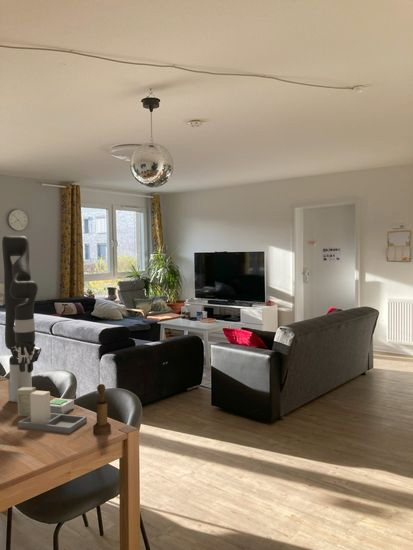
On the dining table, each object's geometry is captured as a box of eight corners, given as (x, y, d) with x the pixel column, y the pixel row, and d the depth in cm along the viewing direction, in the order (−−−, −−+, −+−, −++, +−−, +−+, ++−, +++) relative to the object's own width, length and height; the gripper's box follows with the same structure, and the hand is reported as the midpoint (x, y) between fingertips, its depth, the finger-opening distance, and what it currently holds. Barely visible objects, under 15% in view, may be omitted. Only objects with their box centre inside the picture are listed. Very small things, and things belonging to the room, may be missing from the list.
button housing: (42, 416, 188) (42, 404, 187) (55, 409, 196) (55, 398, 196) (61, 418, 185) (61, 406, 185) (74, 411, 194) (73, 399, 194)
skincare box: (37, 416, 189) (36, 386, 188) (32, 419, 184) (31, 390, 184) (22, 415, 189) (21, 386, 189) (17, 419, 185) (16, 389, 184)
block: (31, 424, 176) (30, 393, 175) (37, 420, 180) (36, 390, 179) (44, 425, 174) (43, 394, 173) (50, 421, 178) (49, 391, 177)
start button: (49, 410, 189) (49, 403, 189) (57, 406, 194) (56, 399, 194) (60, 411, 188) (60, 404, 187) (67, 407, 192) (67, 400, 192)
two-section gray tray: (18, 431, 173) (17, 422, 173) (38, 419, 184) (37, 411, 184) (69, 437, 166) (69, 428, 166) (87, 425, 178) (86, 416, 178)
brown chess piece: (114, 431, 172) (113, 384, 171) (99, 436, 167) (98, 388, 166) (104, 426, 176) (103, 381, 175) (89, 431, 172) (88, 384, 171)
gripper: (45, 329, 187) (46, 370, 188) (16, 327, 191) (18, 368, 191) (33, 332, 179) (35, 375, 180) (4, 330, 183) (5, 373, 184)
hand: (26, 371), depth 186 cm, fingers open, 3 cm apart
